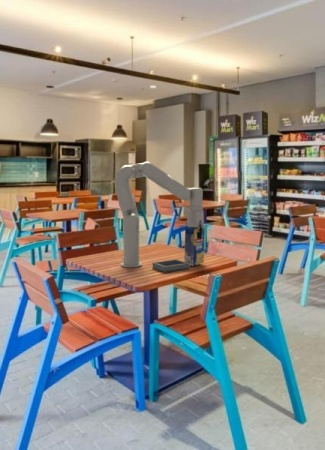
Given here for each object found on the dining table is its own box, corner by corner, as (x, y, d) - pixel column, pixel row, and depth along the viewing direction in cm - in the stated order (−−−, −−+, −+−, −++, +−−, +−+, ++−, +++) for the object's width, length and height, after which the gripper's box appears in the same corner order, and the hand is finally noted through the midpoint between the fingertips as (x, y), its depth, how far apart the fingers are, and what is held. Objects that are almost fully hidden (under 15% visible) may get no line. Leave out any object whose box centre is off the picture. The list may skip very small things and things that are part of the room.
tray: (152, 268, 247) (152, 262, 246) (176, 264, 256) (176, 259, 256) (164, 272, 236) (164, 266, 236) (189, 269, 245) (189, 263, 245)
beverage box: (203, 262, 258) (204, 227, 255) (193, 265, 250) (194, 228, 247) (194, 261, 262) (195, 226, 259) (184, 264, 254) (185, 227, 251)
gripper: (182, 207, 257) (181, 235, 259) (199, 210, 242) (198, 240, 245) (191, 207, 261) (190, 235, 263) (210, 209, 247) (208, 239, 249)
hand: (194, 237), depth 254 cm, fingers closed on beverage box, 8 cm apart
